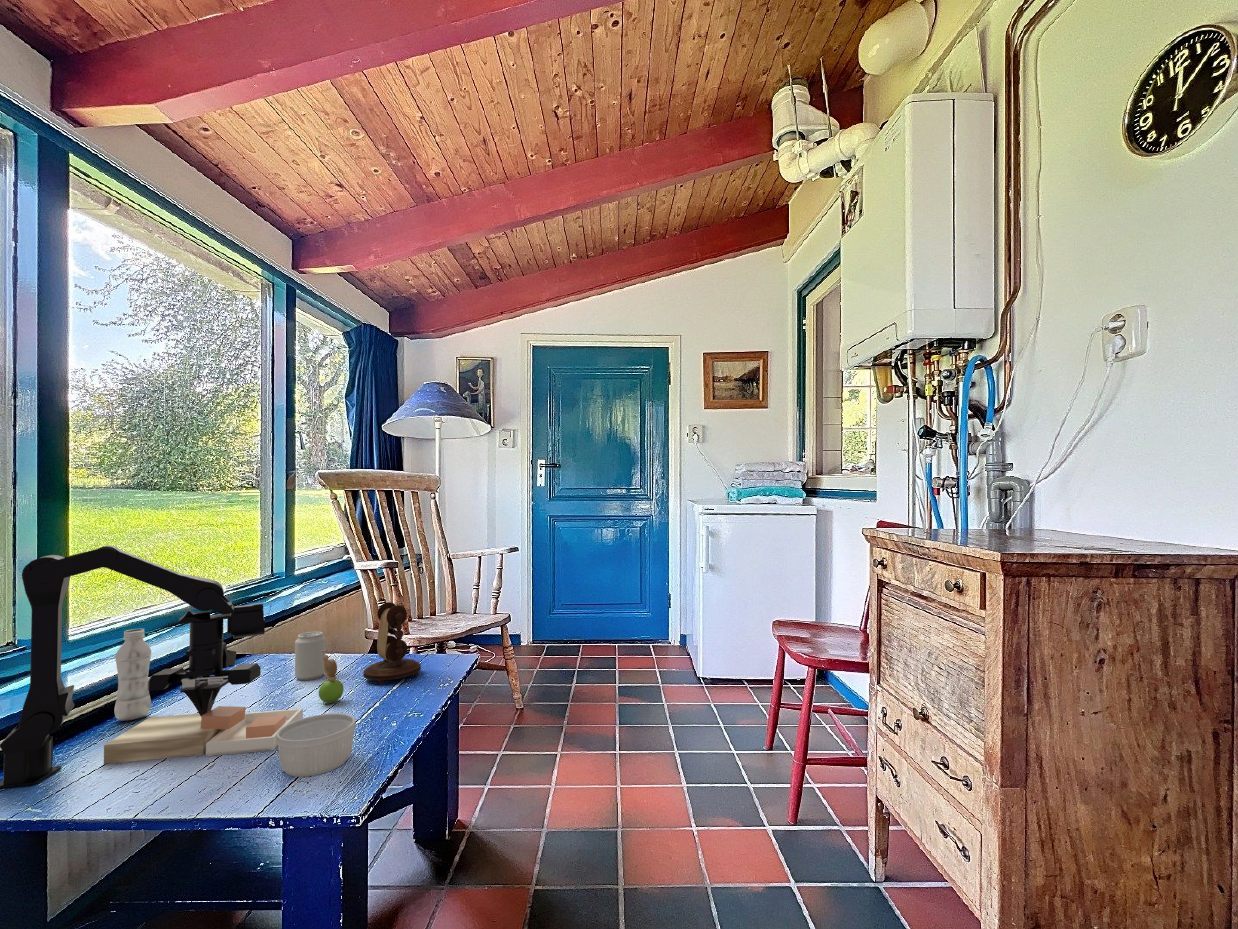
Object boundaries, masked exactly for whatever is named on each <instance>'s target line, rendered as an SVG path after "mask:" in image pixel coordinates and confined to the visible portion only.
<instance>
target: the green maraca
mask: <svg viewBox="0 0 1238 929" xmlns="http://www.w3.org/2000/svg"><path fill="white" fill-rule="evenodd" d="M322 652H323V666H324V672H325V673H324V675H325V677H326V679H327V680H325V681H324V682H323V683H322V684H321V685H320V687H319V690H318V698H319V699H320V700H321V702H323V703H326V704H332V703H336V702H337V701H338V700H340V699H341V698H342V696H343V693H344V691H345V690H344V684H342V682H341V681H340V680H338V679H337V676H336V675H337V672H338V663H337V662H336V660H335V659H334V658H330V657H329V655H327V654H325V655H324V652H325V653H327V652H328V649H325V651H324V650H323V651H322ZM329 658H330V659H329Z"/></svg>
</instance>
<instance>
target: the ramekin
mask: <svg viewBox="0 0 1238 929" xmlns="http://www.w3.org/2000/svg"><path fill="white" fill-rule="evenodd" d="M356 727H357V726H356V717H354V715H351V714H348V713H342V712H332V713H323V714H322V713H321V714H316V715H312V716H311V715H310V716H307V717H303V719H300V720H297V721H294V722H292V723H289V724H287V725H285V726H284V727H282V728H281V729H280V730H279V731H278V732H277V734H276V743H277V744H278V746H277V747H278V755H279V763H280V766H281V769H282V771H283V772H284V773H286V774H287V775H289V776H291V777H297V778H301V777H302V778H303V777H304V778H305V777H312V776H313V777H314V776H318V775H322V774H325V773H328V772H330V771H333V770H335V769H337V768H339V767H341V766H342V765H343V764H345V763H346V762H347V761H348V759H349V758H350V756H351V754H352V752H353V751H352V750H353V744H354V743H353V742H354V733H355V729H356Z"/></svg>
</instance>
